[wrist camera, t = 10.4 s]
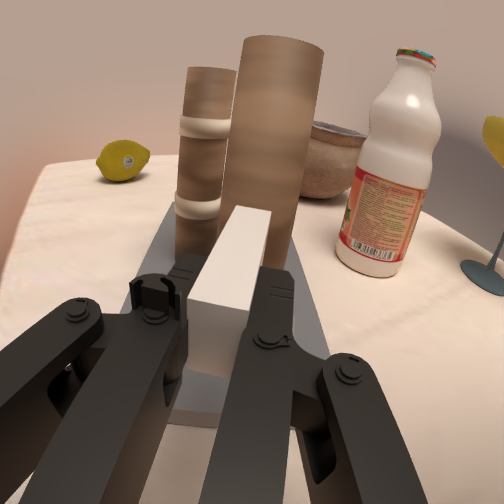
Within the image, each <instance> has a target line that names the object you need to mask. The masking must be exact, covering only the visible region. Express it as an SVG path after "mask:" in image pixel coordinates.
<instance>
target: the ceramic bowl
mask: <svg viewBox="0 0 504 504" xmlns="http://www.w3.org/2000/svg"><path fill="white" fill-rule="evenodd" d="M367 137H368V136H365V135H363V134H360V133H359V132H356V131H352V130H349V129H345V128H341V127H338V126H335V125H331V124H327V123H323V122H318V121H313V124H312V130H311V135H310V141H309V147H308V152H307V158H306V163H305V168H304V174H303V179H302V184H301V189H300V194H299V196H304V197H309V198H320V199H325V198H332V197H335V196H337V195H339V194H341V193H342V192H344V191H345V190H348V189H349V188H350V187H352V183H353V179H354V175H355V171H356V166H357V161H358V157H359V154H360V150H361V147H362V145H363V143H364V141H365V140H366V139H367Z"/></svg>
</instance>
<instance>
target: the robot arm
mask: <svg viewBox="0 0 504 504" xmlns="http://www.w3.org/2000/svg"><path fill="white" fill-rule="evenodd" d="M270 218H271V211H266V210H260V209H255V208H249V207H243V206H238V205H236V207H235V209H234V211H233V212H232V214H231V216H230V218H229V220H228V222H227V223H226V225H225V227H224V229H223V231H222V233H221V235H220V236H219V238H218V240H217V242H216V244H215V246H214V248H213V249H212V251H211V253H210V255H209V257H206V256H201V255H196V254H191V253H187V254H186V255H184V256H182V257H180V258H179V259H177V261H176V262H175V264H174V265H173V267H172V269H171V270H170V271H169V273H168V274H167V275H165V274H158V273H150V274H143V275H141V276H138V277H136V278H134V279H133V280H132V281H131V282H129V287H130V296H131V305H132V310H131V311H130V313H127V314H106V313H102V312H101V309H100V306H99V304H98V303H96V302H95V301H94V300H92V299H89V298H79V297H78V298H74V299H70V300H68V301H66V302H64V303H62V304H61V305H59V306H58V307H57V308H55V309H54V310H53V311H51V312H50V313H49V314H47V315H46V316H45V317H43V318H42V319H41V320H39V321H38V322H37V323H35V324H34V325H33V326H31V327H30V328H29V329H28V330H26V331H25V332H24V333H22V334H21V335H20V336H19V337H17V338H16V339H15V340H14V341H12V342H11V343H10V344H9V345H7V346H6V347H5V348H4V349H2V350H1V351H0V504H4V503H5V502H6V501H7V500H8V499H9V498H10V497H11V496H12V494H13V493H14V492H15V491H16V490H17V489H18V488H19V487H20V486H21V485H22V483H23V482H24V481H25V480H26V479H27V478H28V477H29V476H30V475H31V474H32V472H33V471H34V470H35V471H34V473H33V475H32V477H31V479H30V481H29V483H28V485H27V487H26V489H25V491H24V493H23V495H22V497H21V499H20V501H19V504H138V503H139V500H140V497H141V494H142V492H143V489H144V486H145V483H146V480H147V477H148V475H149V472H150V469H151V466H152V463H153V461H154V458H155V455H156V452H157V450H158V447H159V444H160V441H161V439H162V436H163V433H164V430H165V428H166V425H167V422H168V419H169V417H170V414H171V411H172V409H173V406H174V403H175V401H176V398H177V395H178V393H179V390H180V387H181V385H182V378H183V376H182V370H183V368H184V365H185V363H186V360H187V369H189V370H193V371H197V372H201V373H205V374H209V375H214V376H218V377H223V378H228V379H230V382H229V386H228V390H227V394H226V398H225V402H224V406H223V410H222V414H221V418H220V422H219V426H218V430H217V434H216V438H215V442H214V445H213V449H212V453H211V457H210V461H209V465H208V469H207V473H206V476H205V480H204V484H203V488H202V492H201V496H200V499H199V503H198V504H282V503H283V494H284V486H285V476H286V467H287V456H288V446H289V434H290V426H292V427H294V428H295V431H296V435H297V440H298V444H299V449H300V454H301V458H302V463H303V468H304V472H305V477H306V482H307V486H308V491H309V496H310V501H311V504H428V502H427V499H426V497H425V494H424V491H423V488H422V486H421V483H420V480H419V478H418V475H417V473H416V470H415V467H414V465H413V462H412V460H411V457H410V455H409V452H408V450H407V447H406V445H405V442H404V440H403V437H402V435H401V433H400V430H399V428H398V425H397V423H396V421H395V418H394V416H393V414H392V411H391V409H390V407H389V405H388V402H387V400H386V398H385V395H384V393H383V391H382V389H381V386H380V384H379V382H378V380H377V378H376V375H375V373H374V371H373V370H372V368H371V367H370V365H369V364H368V363H367V362H366V361H364V360H363V359H362V358H360V357H358V356H355V355H353V354H349V353H338V354H334V355H332V356H330V357H329V358H327V359H326V360H324V359H321V358H319V357H316V356H314V355H312V354H310V353H308V352H306V351H305V350H303V349H302V348H301V347H300V346H299V345H298V344H297V343H296V341H295V339H294V337H293V332H292V328H293V308H294V285H295V280H294V279H293V277H292V275H291V274H290V272H289V271H285V270H280V269H274V268H269V267H264V266H262V263H263V257H264V251H265V246H266V240H267V235H268V229H269V223H270ZM70 363H71V364H70ZM69 364H70V365H69ZM67 365H69V366H67ZM66 366H67V367H66Z"/></svg>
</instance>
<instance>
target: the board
mask: <svg viewBox="0 0 504 504" xmlns="http://www.w3.org/2000/svg"><path fill="white" fill-rule="evenodd" d="M174 206H175V202H172V204H171V206H170V208H169V210H168V212H167V214H166V215H165V217H164V219H163V221H162V223H161V225H160V227H159V229H158V231H157V233H156V235H155V237H154V239H153V241H152V243H151V245H150V247H149V249H148V252H147V254H146V256H145V258H144V260H143V262H142V264H141V266H140V268H139V271H138V273H137V275H136V277H138V276H141V275H143V274H150V273H158V274H165V275H167V274H168V273H169V271H170V270H171V269H172V267H173V265H174V264H175V262H176V261H175V224H176V213H175V211H174ZM284 270H285V271H289V272H290V274H291V275H292V277H293V279H294V280H295V285H294V308H293V328H292V332H293V337H294V339H295V341H296V343H297V344H298V345H299V346H300V347H301V348H302V349H303V350H305V351H306V352H308V353H310V354H312V355H314V356H316V357H319V358H321V359H324V360H326V359H327V358H329V357H330V352H329V349H328V346H327V343H326V339H325V336H324V333H323V330H322V327H321V323H320V320H319V317H318V314H317V311H316V308H315V305H314V302H313V298H312V295H311V292H310V289H309V286H308V283H307V280H306V277H305V274H304V271H303V268H302V265H301V262H300V259H299V257H298V254H297V251H296V248H295V245H294V242H293V239H292V236H291V239H290V244H289V249H288V253H287V258H286V263H285V267H284ZM136 277H135V278H136ZM131 310H132V305H131V296H130V290H129V293H128V295H127V297H126V300H125V302H124V304H123V306H122V309H121V311H120V314H127V313H130V311H131ZM182 376H183V378H182V385H181V387H180V390H179V393H178V395H177V398H176V401H175V403H174V406H173V409H172V411H171V414H170V417H169V419H168V422H167V423H170V424H178V425H187V426H198V427H210V428H218V426H219V422H220V418H221V414H222V410H223V406H224V402H225V398H226V394H227V390H228V386H229V382H230V379H228V378H223V377H218V376H214V375H209V374H205V373H201V372H197V371H193V370H189V369H187V360H186V363H185V365H184V368H183V370H182ZM290 429H295V428H294V427H292V426H290Z"/></svg>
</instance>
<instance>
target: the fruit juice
mask: <svg viewBox="0 0 504 504" xmlns="http://www.w3.org/2000/svg"><path fill="white" fill-rule="evenodd" d="M396 56H397V58H396V60H397V62H398V66H397V68H396V71H395V73H394V74H393V77H392V78H391V80H390V82H389V83H388V85H387V87H386V88H385V89H384V90H383V92H382V93H381V94H380V95H379V96H378V97H376V98H375V99H374V101H373V102H372V105H371V107H370V111H369V128H370V130H369V135H368V137H367V139H366V140H365V141H364V143H363V145H362V147H361V150H360V154H359V157H358V161H357V166H356V171H355V175H354V179H353V183H352V187H351V191H350V195H349V199H348V203H347V207H346V211H345V214H344V218H343V222H342V225H341V229H340V233H339V236H338V240H337V245H336V253H337V255H338V257H339V258H340V260H341V261H342V262H343V263H345V264H346V265H347V266H349V267H350V268H352V269H354V270H356V271H358V272H360V273H363V274H366V275H369V276H374V277H389V276H392V275H394V274H395V273H396V272H397V271H398V270H399V268H400V266H401V264H402V261H403V259H404V256H405V254H406V251H407V248H408V246H409V243H410V240H411V237H412V235H413V232H414V229H415V226H416V223H417V220H418V217H419V214H420V211H421V208H422V205H423V202H424V198H425V195H426V192H427V189H428V186H429V182H430V178H431V172H432V157H431V156H432V152H433V149H434V147H435V146H436V144H437V142H438V140H439V138H440V134H441V119H440V116H439V114H438V111H437V109H436V106H435V102H434V98H433V90H432V81H431V80H432V79H431V77H432V72H434V70H435V67H436V60H435V58H433V56H431V55H429V54H427V53H425V52H422V51H419V50H416V49H412V48H399V49H398V51H397V55H396Z"/></svg>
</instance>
